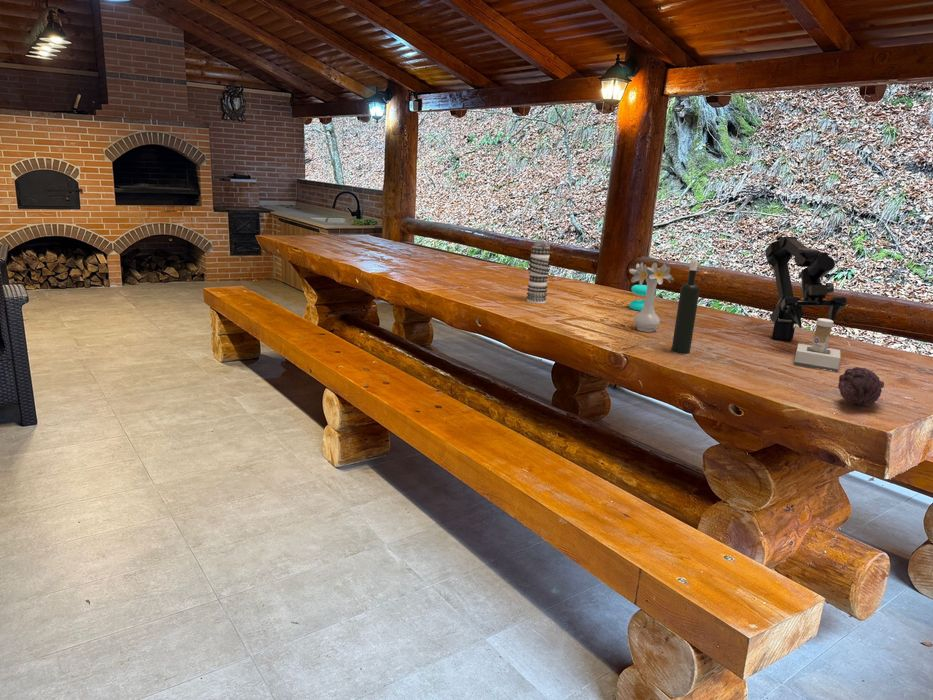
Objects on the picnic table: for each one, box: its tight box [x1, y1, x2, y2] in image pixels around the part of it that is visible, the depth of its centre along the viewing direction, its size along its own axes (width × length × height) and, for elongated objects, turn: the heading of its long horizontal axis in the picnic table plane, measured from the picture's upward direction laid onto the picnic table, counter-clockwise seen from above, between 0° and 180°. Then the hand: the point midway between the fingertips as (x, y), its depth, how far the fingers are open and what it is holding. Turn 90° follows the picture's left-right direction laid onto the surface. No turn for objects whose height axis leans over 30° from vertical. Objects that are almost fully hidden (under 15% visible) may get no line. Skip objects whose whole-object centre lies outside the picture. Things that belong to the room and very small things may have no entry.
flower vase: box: [628, 262, 675, 333], centre depth 234 cm, size 13×18×25 cm
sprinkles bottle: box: [811, 317, 834, 354], centre depth 202 cm, size 5×5×13 cm
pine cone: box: [837, 366, 885, 407], centre depth 165 cm, size 18×10×10 cm, turn 131°
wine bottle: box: [671, 258, 700, 355], centre depth 206 cm, size 6×6×30 cm
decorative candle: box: [526, 242, 551, 304], centre depth 276 cm, size 9×9×25 cm
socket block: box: [793, 343, 841, 372], centre depth 203 cm, size 12×12×4 cm
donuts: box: [628, 284, 657, 312], centre depth 274 cm, size 10×10×10 cm
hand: (815, 327), depth 210 cm, fingers open, 9 cm apart
